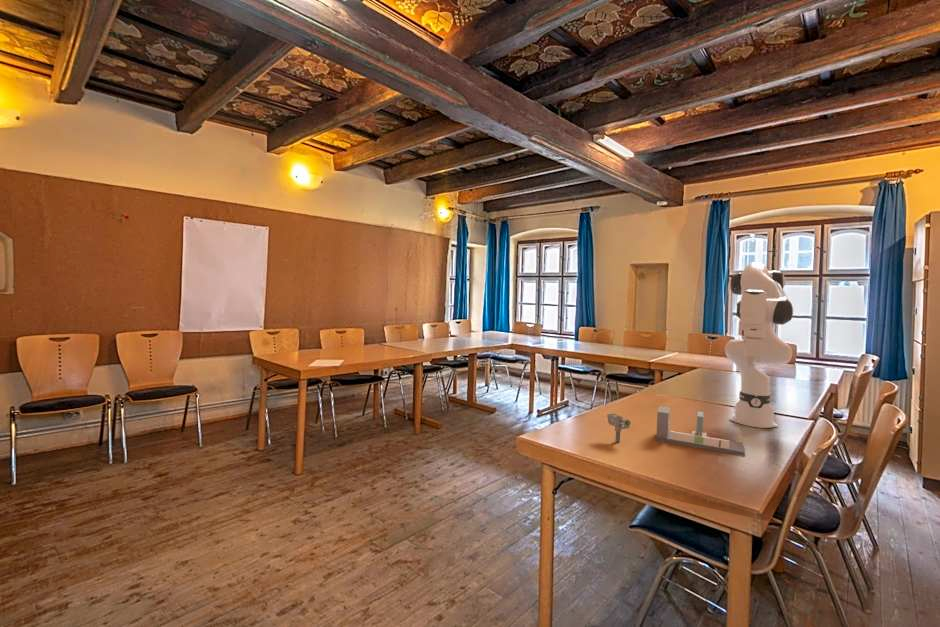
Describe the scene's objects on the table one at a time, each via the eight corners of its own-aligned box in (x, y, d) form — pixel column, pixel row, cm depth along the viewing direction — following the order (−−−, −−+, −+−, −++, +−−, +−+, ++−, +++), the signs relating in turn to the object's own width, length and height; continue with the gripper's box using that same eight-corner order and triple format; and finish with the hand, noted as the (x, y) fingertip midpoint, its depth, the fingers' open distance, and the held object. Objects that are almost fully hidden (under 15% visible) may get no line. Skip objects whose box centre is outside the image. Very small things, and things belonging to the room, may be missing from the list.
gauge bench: (658, 432, 183) (659, 405, 183) (742, 446, 169) (743, 417, 169) (655, 440, 173) (657, 412, 172) (744, 456, 159) (746, 425, 158)
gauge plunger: (692, 435, 176) (693, 410, 175) (706, 437, 173) (707, 412, 173) (691, 442, 167) (692, 416, 166) (706, 445, 164) (707, 418, 164)
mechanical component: (624, 446, 165) (626, 420, 164) (605, 438, 174) (606, 413, 174) (630, 445, 166) (631, 419, 166) (610, 437, 175) (611, 412, 175)
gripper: (740, 329, 179) (738, 362, 180) (744, 332, 161) (741, 369, 162) (758, 330, 176) (756, 364, 177) (764, 334, 158) (762, 371, 159)
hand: (749, 366), depth 169 cm, fingers closed
